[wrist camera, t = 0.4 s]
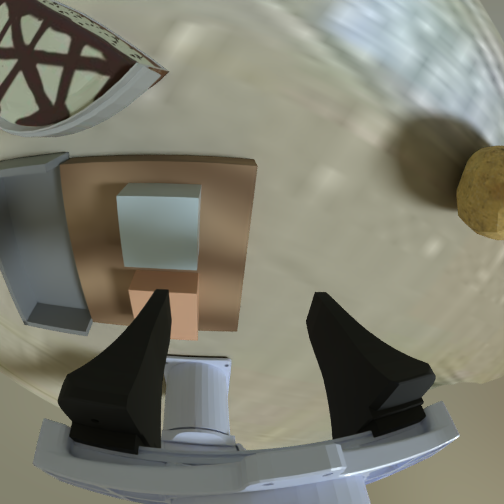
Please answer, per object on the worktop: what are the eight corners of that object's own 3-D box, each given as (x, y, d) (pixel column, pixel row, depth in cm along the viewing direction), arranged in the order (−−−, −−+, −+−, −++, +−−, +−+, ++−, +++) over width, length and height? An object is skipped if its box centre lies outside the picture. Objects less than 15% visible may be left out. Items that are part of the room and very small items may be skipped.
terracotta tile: (198, 319, 24) (197, 340, 22) (143, 315, 23) (138, 336, 21) (198, 272, 21) (196, 293, 19) (135, 269, 21) (128, 289, 18)
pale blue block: (199, 250, 20) (196, 270, 18) (133, 247, 20) (124, 266, 17) (201, 184, 18) (198, 198, 16) (128, 182, 17) (116, 195, 15)
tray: (97, 311, 25) (87, 336, 22) (37, 303, 24) (24, 324, 21) (68, 151, 17) (45, 164, 14) (0, 161, 16) (-24, 174, 13)
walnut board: (235, 316, 27) (237, 331, 25) (98, 308, 25) (92, 321, 23) (253, 159, 19) (257, 166, 17) (71, 157, 17) (59, 164, 15)
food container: (28, 71, 12) (-62, 83, 4) (72, 7, 10) (-7, -22, 2) (129, 151, 18) (61, 202, 9) (185, 83, 16) (149, 71, 7)
